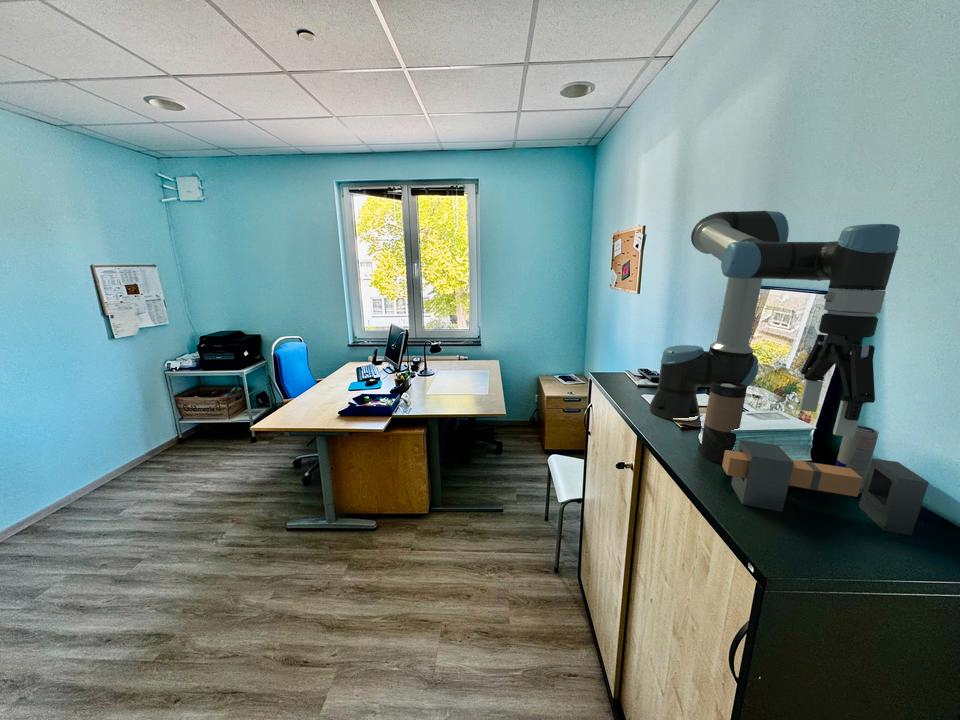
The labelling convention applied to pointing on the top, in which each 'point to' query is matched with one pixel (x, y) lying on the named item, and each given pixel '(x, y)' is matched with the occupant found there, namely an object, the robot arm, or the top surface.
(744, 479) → the sleeve
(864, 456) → the beverage can
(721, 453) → the travel mug
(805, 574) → the top surface
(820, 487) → the orange bar
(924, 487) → the socket
